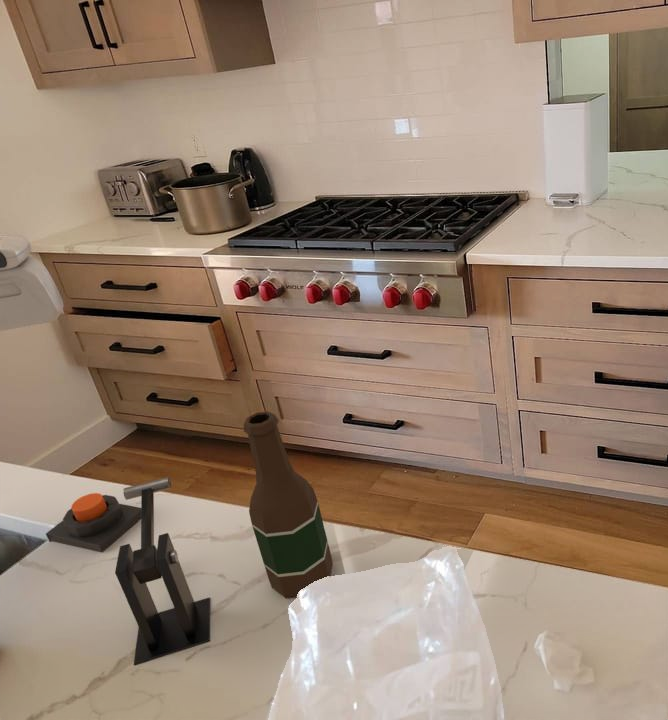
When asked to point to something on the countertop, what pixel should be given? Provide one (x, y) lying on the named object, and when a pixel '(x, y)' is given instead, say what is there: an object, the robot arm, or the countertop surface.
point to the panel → (96, 527)
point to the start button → (89, 507)
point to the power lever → (146, 529)
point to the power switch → (170, 626)
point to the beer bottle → (284, 513)
